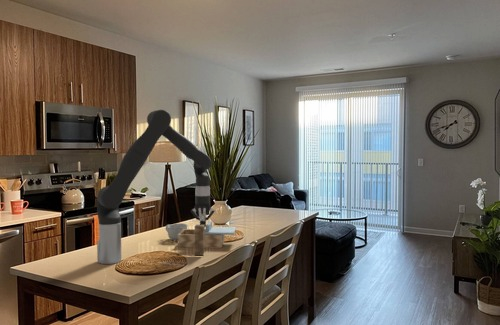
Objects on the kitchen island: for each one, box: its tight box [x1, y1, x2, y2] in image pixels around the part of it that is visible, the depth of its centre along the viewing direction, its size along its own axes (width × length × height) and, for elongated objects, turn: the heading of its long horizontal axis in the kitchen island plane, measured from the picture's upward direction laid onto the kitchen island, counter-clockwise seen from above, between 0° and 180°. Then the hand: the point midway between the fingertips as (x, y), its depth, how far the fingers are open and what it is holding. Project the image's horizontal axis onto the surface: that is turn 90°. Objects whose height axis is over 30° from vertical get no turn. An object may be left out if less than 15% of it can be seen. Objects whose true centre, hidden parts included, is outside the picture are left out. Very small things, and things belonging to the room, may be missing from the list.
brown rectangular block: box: [194, 224, 206, 257], centre depth 176 cm, size 4×4×14 cm
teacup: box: [165, 222, 188, 242], centre depth 207 cm, size 14×11×8 cm
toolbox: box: [177, 228, 226, 249], centre depth 193 cm, size 22×13×7 cm, turn 87°
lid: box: [205, 221, 237, 236], centre depth 193 cm, size 15×13×4 cm
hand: (202, 227), depth 193 cm, fingers closed
